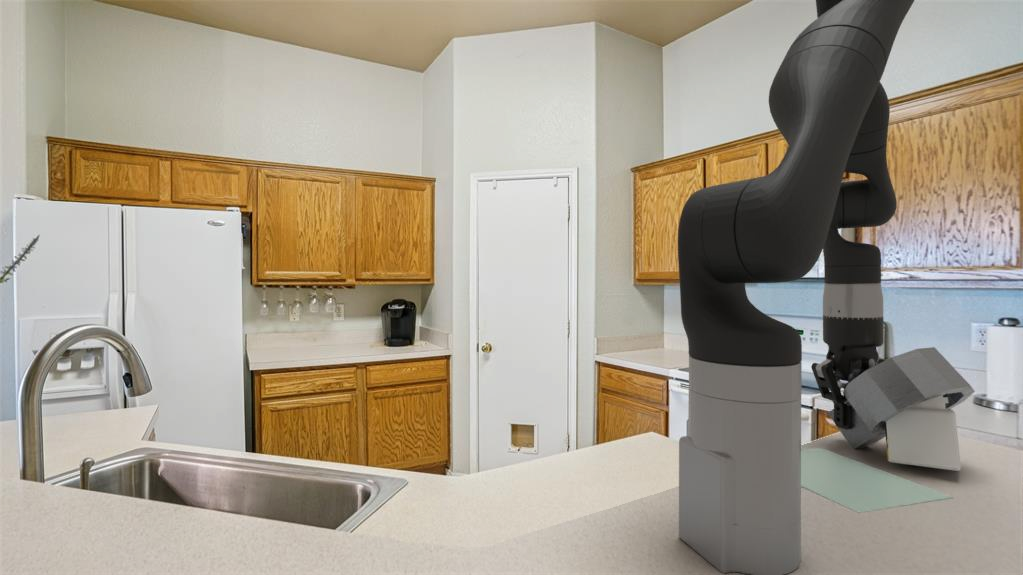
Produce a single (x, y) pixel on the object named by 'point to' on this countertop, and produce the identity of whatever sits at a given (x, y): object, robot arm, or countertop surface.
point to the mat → (859, 483)
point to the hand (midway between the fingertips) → (852, 426)
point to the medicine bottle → (924, 436)
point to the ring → (899, 392)
